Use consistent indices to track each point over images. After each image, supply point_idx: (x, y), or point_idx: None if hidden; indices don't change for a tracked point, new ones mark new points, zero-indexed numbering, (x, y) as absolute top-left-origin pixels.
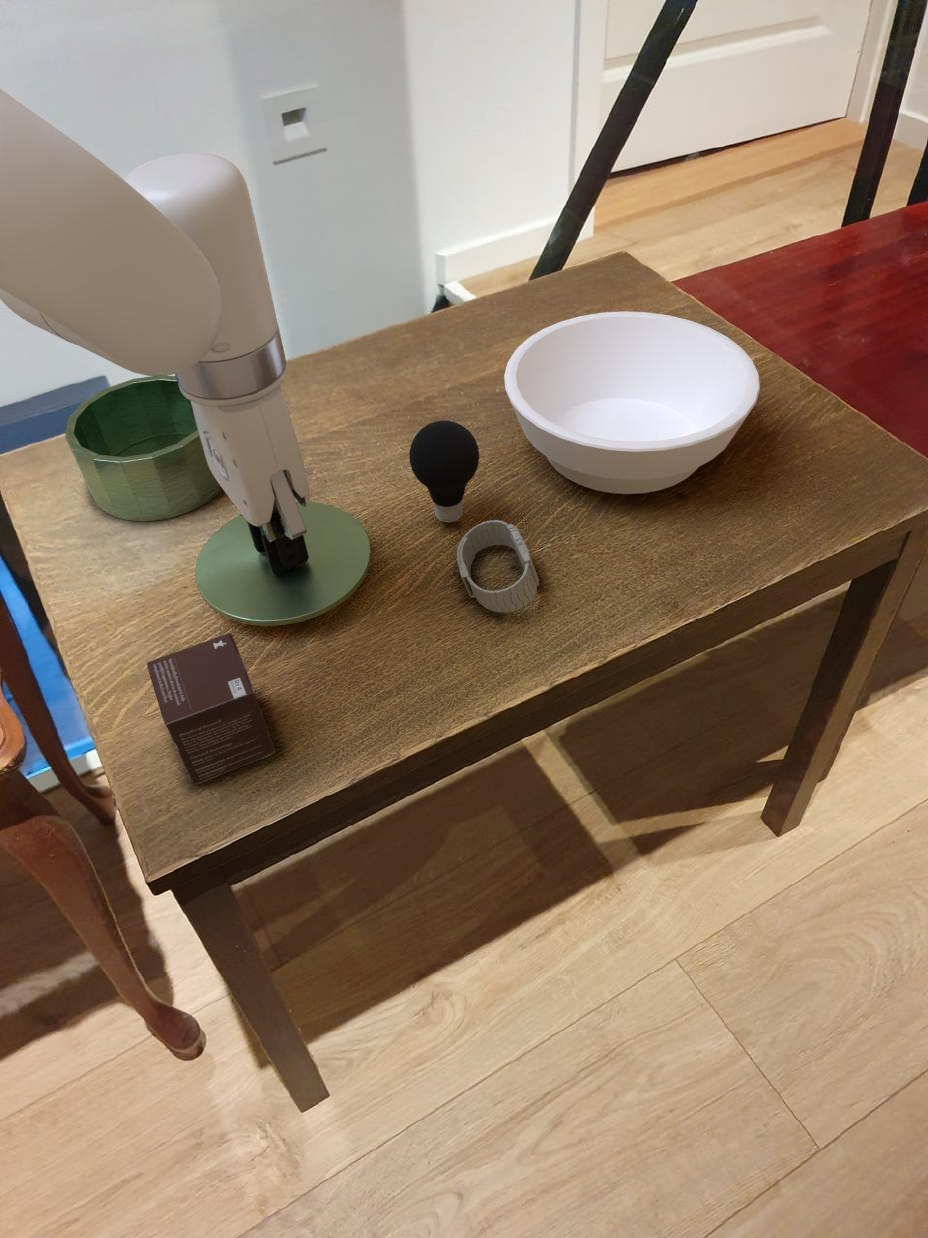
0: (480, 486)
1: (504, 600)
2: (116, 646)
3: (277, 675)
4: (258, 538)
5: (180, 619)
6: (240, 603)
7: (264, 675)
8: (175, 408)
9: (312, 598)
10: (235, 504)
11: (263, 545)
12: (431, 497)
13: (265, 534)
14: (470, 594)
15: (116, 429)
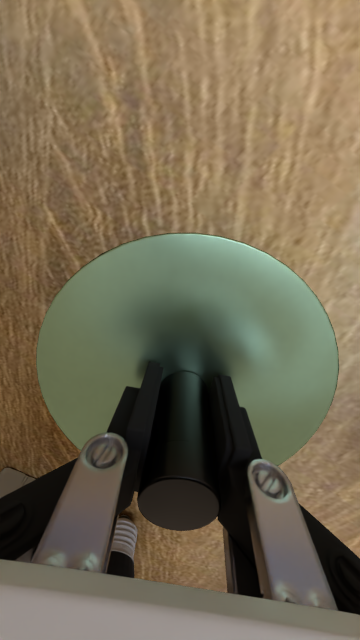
0: (146, 553)
1: None
2: (285, 15)
3: (14, 238)
4: (216, 401)
5: (238, 185)
6: (135, 277)
7: (25, 222)
8: None
9: (66, 367)
10: (82, 638)
11: (213, 391)
12: (115, 562)
13: (123, 446)
14: (2, 472)
15: None
